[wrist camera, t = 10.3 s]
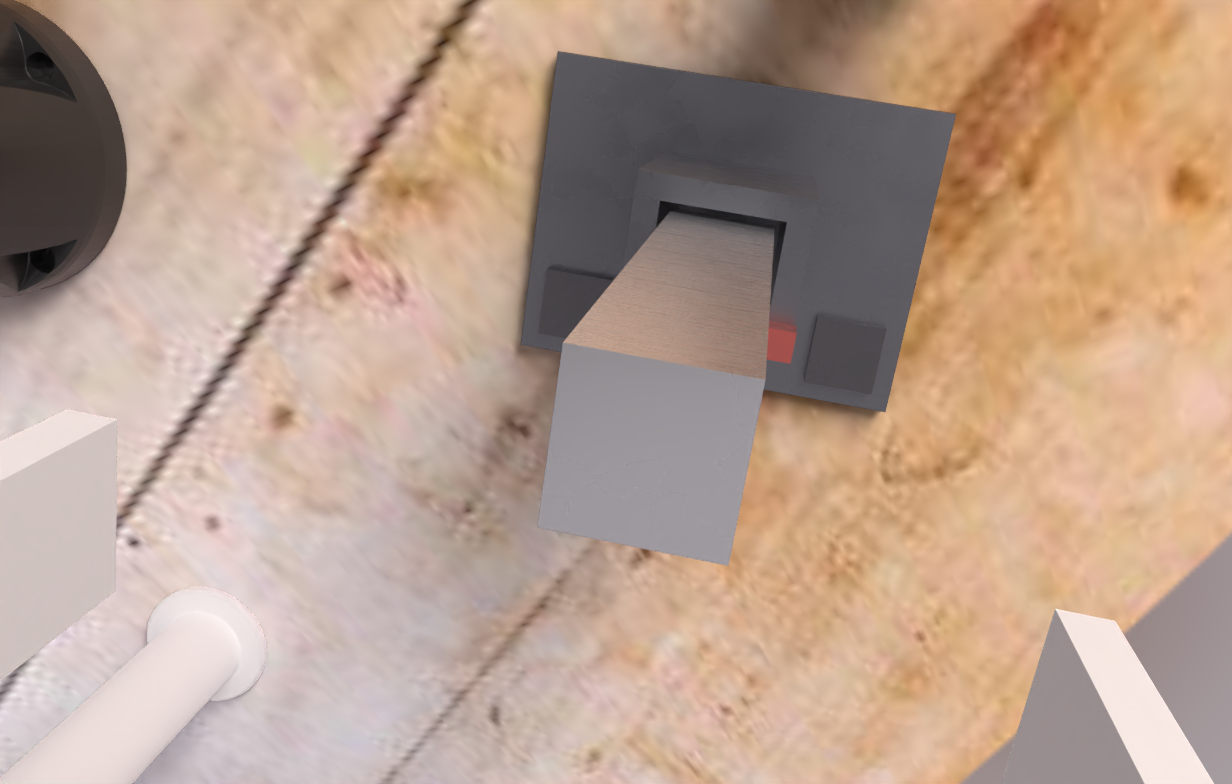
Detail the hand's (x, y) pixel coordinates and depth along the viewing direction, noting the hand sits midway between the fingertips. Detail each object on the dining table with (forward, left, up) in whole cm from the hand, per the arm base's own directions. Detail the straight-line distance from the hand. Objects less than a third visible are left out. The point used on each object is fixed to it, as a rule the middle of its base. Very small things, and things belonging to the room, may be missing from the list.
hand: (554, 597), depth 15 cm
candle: (-25, -29, -39) cm, 54 cm away
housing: (+1, 0, -38) cm, 39 cm away
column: (+1, -1, -29) cm, 29 cm away
